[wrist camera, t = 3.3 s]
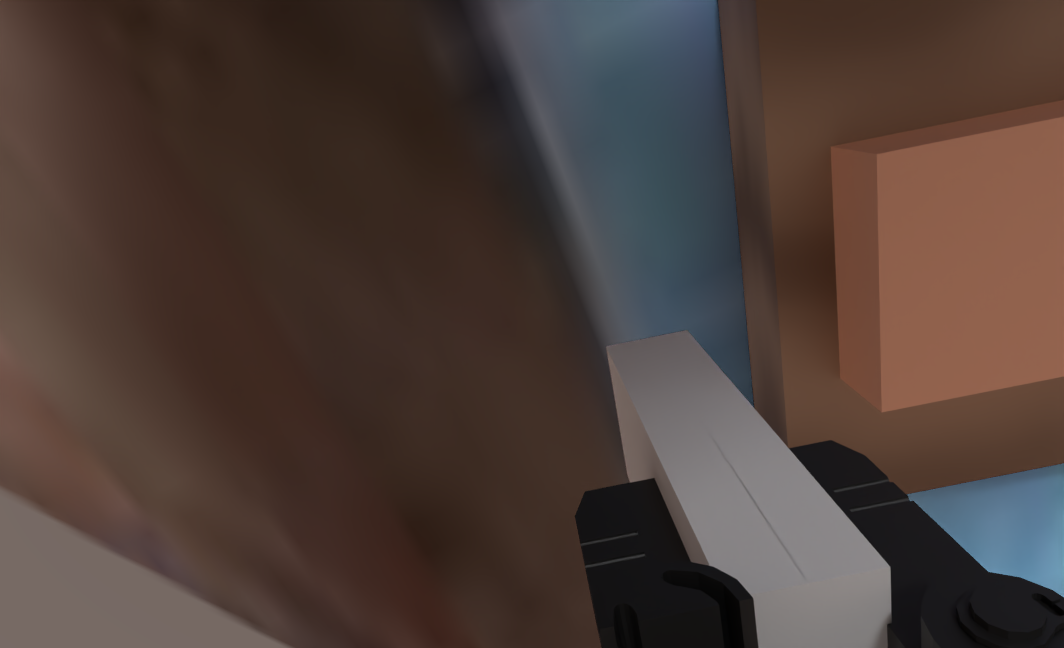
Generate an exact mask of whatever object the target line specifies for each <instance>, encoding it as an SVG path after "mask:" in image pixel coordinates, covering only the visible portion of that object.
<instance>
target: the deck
mask: <svg viewBox="0 0 1064 648" xmlns="http://www.w3.org/2000/svg"><path fill="white" fill-rule="evenodd" d="M718 7H719V18H720V30H721V41H722V52H723V63H724V74H725V86H726V97H727V108H728V119H729V130H730V142H731V153H732V164H733V175H734V186H735V198H736V209H737V220H738V231H739V242H740V254H741V265H742V276H743V287H744V298H745V310H746V321H747V332H748V343H749V354H750V366H751V377H752V388H753V399H754V409H755V410H756V411H757V412H758V413H759V414H760V416H761V417H762V418H763V419H764V420H765V421H766V423H767V424H768V425H769V426H770V427H771V428H772V430H773V431H774V432H775V433H776V434H777V435H778V437H779V438H780V439H781V440H782V441H783V442H784V444H785V445H786V446H787V447H788V448H793V447H798V446H803V445H808V444H813V443H818V442H823V441H828V440H833V441H835V442H837V443H839V444H841V445H843V446H846V447H848V448H850V449H852V450H854V451H857V452H859V453H861V454H863V455H865V456H866V457H867V458H868V459H869V460H871V461H872V462H873V463H874V464H875V465H876V466H877V467H878V468H879V469H880V470H881V471H882V472H883V473H884V474H885V475H886V476H887V477H888V479H889V482H894V483H895V484H896V485H897V486H898V487H899V488H900V489H901V490H902V491H903V492H904V493H905V494H910V493H915V492H920V491H925V490H930V489H935V488H940V487H946V486H951V485H956V484H961V483H966V482H971V481H976V480H981V479H986V478H991V477H996V476H1001V475H1007V474H1012V473H1017V472H1022V471H1027V470H1032V469H1037V468H1042V467H1047V466H1052V465H1057V464H1062V463H1064V377H1059V378H1054V379H1049V380H1044V381H1039V382H1034V383H1028V384H1023V385H1018V386H1013V387H1008V388H1003V389H998V390H993V391H988V392H983V393H978V394H973V395H968V396H963V397H958V398H953V399H948V400H942V401H937V402H932V403H927V404H922V405H917V406H912V407H907V408H902V409H897V410H892V411H887V412H881V411H879V410H878V409H877V408H876V407H874V406H873V405H872V404H871V403H870V402H868V401H867V400H866V399H865V398H864V397H862V396H861V395H860V394H859V393H857V392H856V391H855V390H854V389H853V388H851V387H850V386H849V385H848V384H846V383H845V382H844V381H843V380H842V379H840V361H839V337H838V313H837V289H836V265H835V241H834V217H833V193H832V169H831V146H836V145H841V144H846V143H851V142H856V141H861V140H866V139H871V138H876V137H881V136H886V135H891V134H896V133H901V132H906V131H911V130H916V129H921V128H926V127H931V126H936V125H941V124H946V123H951V122H956V121H961V120H966V119H971V118H976V117H981V116H986V115H991V114H996V113H1001V112H1006V111H1011V110H1016V109H1021V108H1026V107H1031V106H1036V105H1041V104H1046V103H1051V102H1056V101H1061V100H1064V0H718Z"/></svg>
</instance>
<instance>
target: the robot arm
mask: <svg viewBox="0 0 1064 648" xmlns="http://www.w3.org/2000/svg"><path fill="white" fill-rule="evenodd" d="M606 349H607V355H608V361H609V367H610V373H611V379H612V385H613V391H614V397H615V403H616V409H617V416H618V422H619V428H620V434H621V440H622V446H623V452H624V458H625V464H626V470H627V475H628V478H629V481H630V483H626V484H621V485H616V486H611V487H606V488H601V489H596V490H591V491H586V492H585V493H584V495H583V498H582V500H581V503H580V505H579V508H578V510H577V512H576V515H575V519H576V524H577V529H578V534H579V539H580V544H581V549H582V554H583V559H584V564H585V569H586V574H587V579H588V584H589V589H590V594H591V599H592V604H593V609H594V614H595V618H596V623H597V628H598V633H599V638H600V643H601V648H1064V597H1062V596H1061V595H1059V594H1058V593H1056V592H1054V591H1053V590H1051V589H1048V588H1046V587H1043V586H1040V585H1038V584H1035V583H1033V582H1030V581H1027V580H1025V579H1022V578H1020V577H1014V576H1008V575H1002V574H996V573H990V572H988V571H987V570H985V569H984V568H983V567H982V566H981V565H980V564H979V563H978V562H977V561H976V560H975V559H974V558H973V557H972V556H971V555H970V554H969V553H968V552H966V551H965V550H964V549H963V548H962V547H961V546H960V545H959V544H958V543H957V542H956V541H955V540H954V539H953V538H952V537H951V536H950V535H949V534H947V533H946V532H945V531H944V530H943V529H942V528H941V527H940V526H939V525H938V524H937V523H936V522H935V521H934V520H933V519H932V518H931V517H930V516H929V515H927V514H926V513H925V512H924V511H923V510H922V509H921V508H920V507H919V506H918V505H917V504H916V503H915V502H914V501H909V499H908V496H907V495H906V494H905V493H904V492H903V491H902V490H901V489H900V488H899V487H898V486H897V485H896V484H895V483H894V482H889V479H888V477H887V476H886V475H885V474H884V473H883V472H882V471H881V470H880V469H879V468H878V467H877V466H876V465H875V464H874V463H873V462H872V461H871V460H869V459H868V458H867V457H866V456H865V455H863V454H861V453H859V452H857V451H854V450H852V449H850V448H848V447H846V446H843V445H841V444H839V443H837V442H835V441H833V440H828V441H823V442H818V443H813V444H808V445H803V446H798V447H793V448H788V447H787V446H786V445H785V444H784V442H783V441H782V440H781V439H780V438H779V437H778V435H777V434H776V433H775V432H774V431H773V430H772V428H771V427H770V426H769V425H768V424H767V423H766V421H765V420H764V419H763V418H762V417H761V416H760V414H759V413H758V412H757V411H756V410H755V409H754V407H753V406H752V405H751V404H750V403H749V402H748V400H747V399H746V398H745V397H744V396H743V395H742V393H741V392H740V391H739V390H738V389H737V388H736V386H735V385H734V384H733V383H732V382H731V381H730V379H729V378H728V377H727V376H726V375H725V374H724V372H723V371H722V370H721V369H720V368H719V367H718V365H717V364H716V363H715V362H714V361H713V360H712V358H711V357H710V356H709V355H708V354H707V353H706V351H705V350H704V349H703V348H702V347H701V346H700V344H699V343H698V342H697V341H696V340H695V339H694V337H693V336H692V335H691V334H690V333H689V332H688V330H684V331H679V332H674V333H669V334H664V335H659V336H654V337H649V338H644V339H639V340H635V341H630V342H625V343H620V344H615V345H610V346H606Z"/></svg>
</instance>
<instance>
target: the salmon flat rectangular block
mask: <svg viewBox="0 0 1064 648" xmlns="http://www.w3.org/2000/svg"><path fill="white" fill-rule="evenodd" d="M831 169H832V193H833V217H834V241H835V265H836V289H837V313H838V337H839V361H840V379H842V380H843V381H844V382H845V383H846V384H848V385H849V386H850V387H851V388H853V389H854V390H855V391H856V392H857V393H859V394H860V395H861V396H862V397H864V398H865V399H866V400H867V401H868V402H870V403H871V404H872V405H873V406H874V407H876V408H877V409H878V410H879V411H881V412H887V411H892V410H897V409H902V408H907V407H912V406H917V405H922V404H927V403H932V402H937V401H942V400H948V399H953V398H958V397H963V396H968V395H973V394H978V393H983V392H988V391H993V390H998V389H1003V388H1008V387H1013V386H1018V385H1023V384H1028V383H1034V382H1039V381H1044V380H1049V379H1054V378H1059V377H1064V100H1061V101H1056V102H1051V103H1046V104H1041V105H1036V106H1031V107H1026V108H1021V109H1016V110H1011V111H1006V112H1001V113H996V114H991V115H986V116H981V117H976V118H971V119H966V120H961V121H956V122H951V123H946V124H941V125H936V126H931V127H926V128H921V129H916V130H911V131H906V132H901V133H896V134H891V135H886V136H881V137H876V138H871V139H866V140H861V141H856V142H851V143H846V144H841V145H836V146H831Z"/></svg>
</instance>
